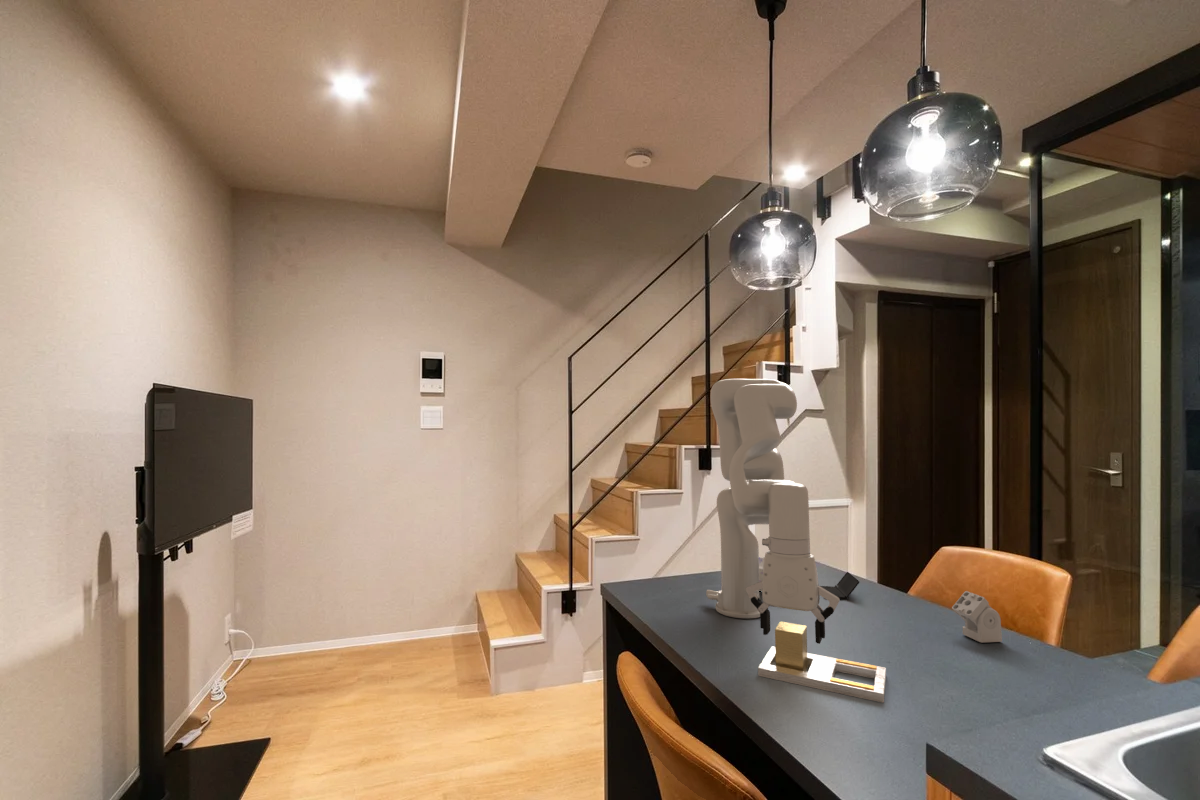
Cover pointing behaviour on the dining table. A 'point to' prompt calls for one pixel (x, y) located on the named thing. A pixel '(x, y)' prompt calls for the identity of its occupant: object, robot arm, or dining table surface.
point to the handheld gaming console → (843, 586)
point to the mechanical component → (978, 618)
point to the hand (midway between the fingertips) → (792, 637)
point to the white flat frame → (828, 675)
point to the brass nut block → (791, 646)
